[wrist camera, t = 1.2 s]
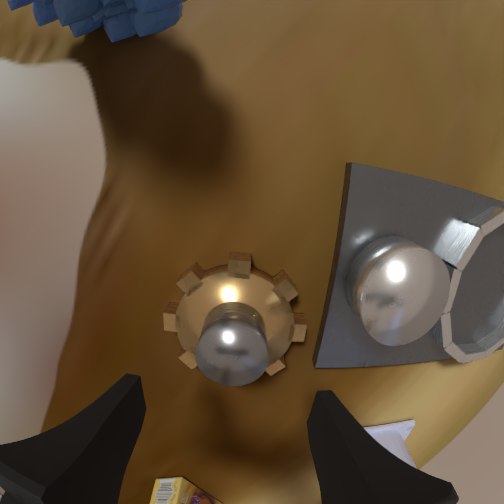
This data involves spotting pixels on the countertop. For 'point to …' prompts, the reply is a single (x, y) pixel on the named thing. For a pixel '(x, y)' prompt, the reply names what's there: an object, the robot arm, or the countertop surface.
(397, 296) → the gear carrier
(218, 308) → the planet gear
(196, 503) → the candy box
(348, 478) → the robot arm
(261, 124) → the countertop surface
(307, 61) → the countertop surface
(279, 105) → the countertop surface
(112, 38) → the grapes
